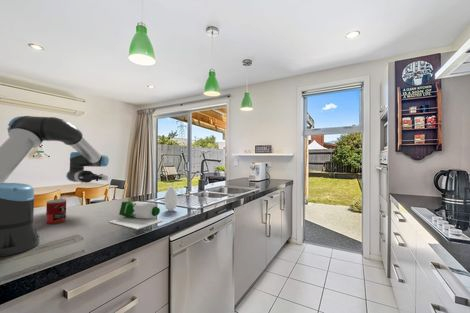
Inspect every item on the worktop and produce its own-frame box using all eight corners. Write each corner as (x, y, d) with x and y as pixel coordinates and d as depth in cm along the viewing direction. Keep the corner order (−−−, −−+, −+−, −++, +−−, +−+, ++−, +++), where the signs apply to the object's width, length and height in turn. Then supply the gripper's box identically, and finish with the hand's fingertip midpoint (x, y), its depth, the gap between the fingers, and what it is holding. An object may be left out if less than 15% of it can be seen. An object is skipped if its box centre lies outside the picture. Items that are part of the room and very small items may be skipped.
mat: (162, 221, 110) (162, 220, 110) (137, 229, 97) (137, 228, 97) (135, 215, 120) (135, 214, 120) (109, 222, 107) (109, 221, 107)
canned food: (54, 224, 103) (55, 202, 103) (41, 223, 104) (42, 201, 105) (69, 220, 110) (70, 199, 110) (57, 219, 112) (58, 198, 112)
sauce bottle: (173, 212, 128) (174, 183, 128) (162, 212, 129) (162, 182, 130) (179, 209, 136) (179, 181, 136) (168, 209, 137) (168, 181, 137)
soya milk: (129, 217, 121) (158, 220, 115) (116, 216, 113) (147, 219, 107) (132, 201, 124) (161, 203, 118) (121, 199, 116) (151, 201, 110)
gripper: (95, 181, 139) (117, 183, 128) (72, 183, 127) (94, 185, 116) (95, 170, 139) (117, 171, 128) (72, 170, 127) (94, 171, 116)
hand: (106, 178), depth 122 cm, fingers closed
